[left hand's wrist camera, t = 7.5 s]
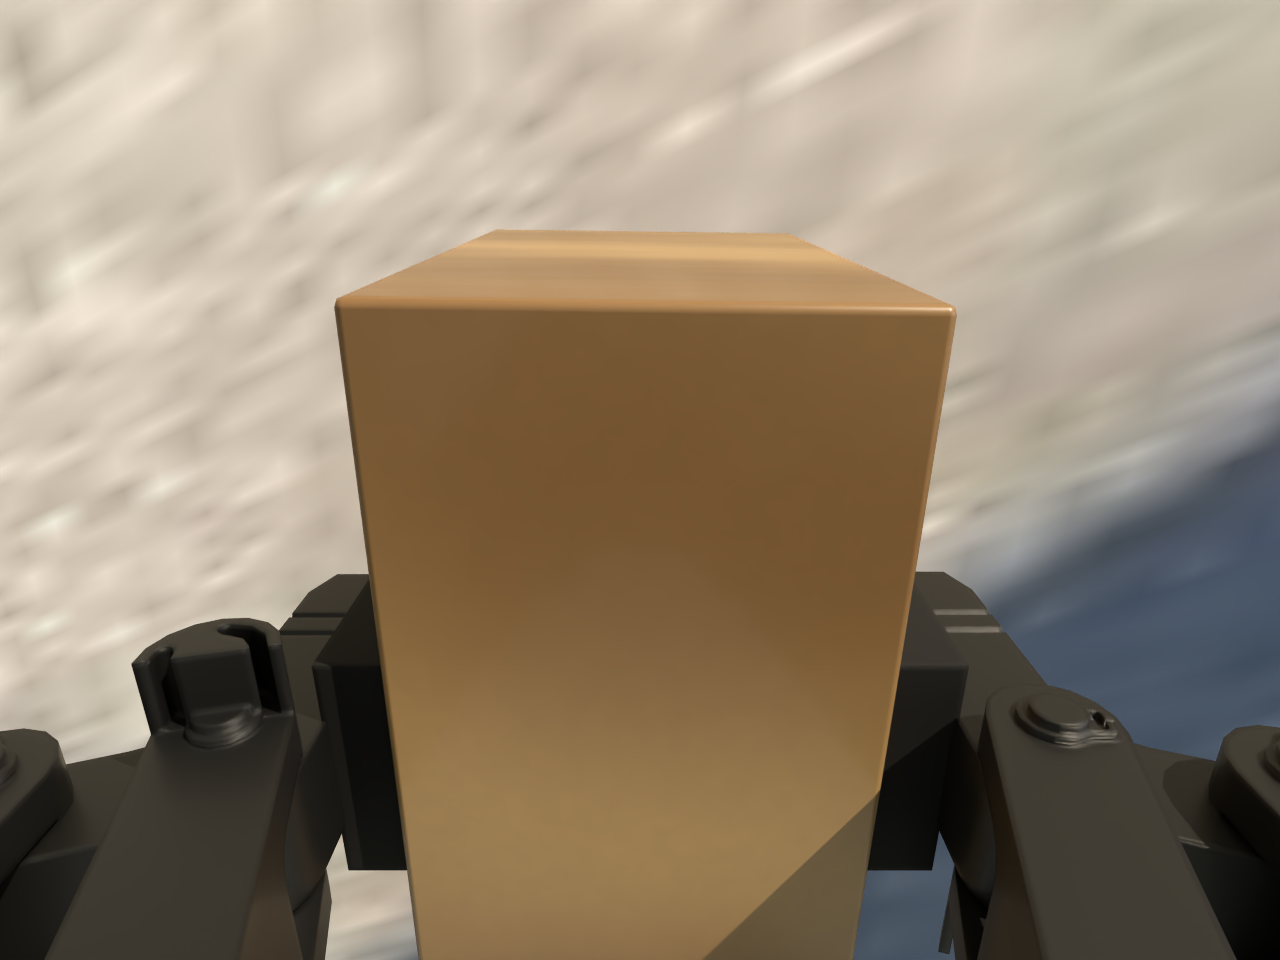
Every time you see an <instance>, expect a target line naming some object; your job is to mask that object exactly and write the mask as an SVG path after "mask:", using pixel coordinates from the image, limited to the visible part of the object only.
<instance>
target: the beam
mask: <svg viewBox="0 0 1280 960" xmlns="http://www.w3.org/2000/svg"><path fill="white" fill-rule="evenodd" d="M334 309H335V316H336V324H337V332H338V340H339V347H340V355H341V363H342V370H343V378H344V386H345V394H346V401H347V409H348V417H349V425H350V432H351V440H352V448H353V455H354V463H355V471H356V479H357V486H358V494H359V502H360V510H361V517H362V525H363V533H364V541H365V548H366V556H367V564H368V571H369V579H370V587H371V595H372V602H373V610H374V618H375V626H376V633H377V641H378V649H379V656H380V664H381V672H382V680H383V687H384V695H385V703H386V711H387V718H388V726H389V734H390V741H391V749H392V757H393V765H394V772H395V780H396V788H397V796H398V803H399V811H400V819H401V826H402V834H403V842H404V850H405V857H406V865H407V873H408V881H409V888H410V896H411V904H412V912H413V919H414V927H415V935H416V942H417V950H418V958H419V960H853V956H854V950H855V943H856V937H857V931H858V925H859V919H860V912H861V906H862V900H863V894H864V888H865V881H866V875H867V869H868V863H869V857H870V850H871V844H872V838H873V832H874V825H875V819H876V813H877V807H878V801H879V794H880V788H881V782H882V776H883V770H884V763H885V757H886V751H887V745H888V739H889V732H890V726H891V720H892V714H893V708H894V701H895V695H896V689H897V683H898V677H899V670H900V664H901V658H902V652H903V646H904V639H905V633H906V627H907V621H908V615H909V608H910V602H911V596H912V590H913V584H914V577H915V571H916V565H917V559H918V553H919V546H920V540H921V534H922V528H923V522H924V515H925V509H926V503H927V497H928V491H929V484H930V478H931V472H932V466H933V460H934V453H935V447H936V441H937V435H938V429H939V422H940V416H941V410H942V404H943V398H944V391H945V385H946V379H947V373H948V366H949V360H950V354H951V348H952V342H953V335H954V329H955V323H956V317H957V314H956V310H955V307H954V306H952V305H950V304H947V303H945V302H943V301H941V300H938V299H936V298H934V297H931V296H929V295H927V294H925V293H922V292H920V291H918V290H916V289H913V288H911V287H909V286H906V285H904V284H902V283H900V282H897V281H895V280H893V279H890V278H888V277H886V276H884V275H881V274H879V273H877V272H875V271H872V270H870V269H868V268H865V267H863V266H861V265H859V264H856V263H854V262H852V261H849V260H847V259H845V258H843V257H840V256H838V255H836V254H833V253H831V252H829V251H827V250H824V249H822V248H820V247H818V246H815V245H813V244H811V243H808V242H806V241H804V240H802V239H799V238H797V237H795V236H792V235H790V234H777V233H704V232H631V231H557V230H495V231H492V232H490V233H488V234H485V235H483V236H481V237H478V238H476V239H474V240H471V241H469V242H467V243H464V244H462V245H460V246H458V247H455V248H453V249H451V250H448V251H446V252H444V253H441V254H439V255H437V256H434V257H432V258H430V259H427V260H425V261H423V262H421V263H418V264H416V265H414V266H411V267H409V268H407V269H404V270H402V271H400V272H397V273H395V274H393V275H390V276H388V277H386V278H384V279H381V280H379V281H377V282H374V283H372V284H370V285H367V286H365V287H363V288H360V289H358V290H356V291H353V292H351V293H349V294H347V295H344V296H342V297H340V298H337V299H336V303H335V306H334Z"/></svg>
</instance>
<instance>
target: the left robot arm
mask: <svg viewBox="0 0 1280 960" xmlns="http://www.w3.org/2000/svg"><path fill="white" fill-rule="evenodd" d="M988 612H989V611H988V609H987V608H986V607H985V606H984V604H983V603H982V602H981V600H980V599H979V598H978V597H977V595H976V594H975V593H974V592H973V590H972V589H970V588H968V587H967V586H965V585H964V584H962V583H960V582H959V581H957V580H956V579H954V578H953V577H951V576H949V575H948V574H946V573H945V572H915V577H914V584H913V590H912V596H911V602H910V608H909V615H908V621H907V627H906V633H905V639H904V646H903V652H902V658H901V664H900V670H899V677H898V683H897V689H896V695H895V701H894V708H893V714H892V720H891V726H890V732H889V739H888V745H887V751H886V757H885V763H884V770H883V776H882V782H881V788H880V794H879V801H878V807H877V813H876V819H875V825H874V832H873V838H872V844H871V850H870V857H869V863H868V869H867V870H932V867H933V862H934V856H935V851H936V845H937V840H938V834H939V831H940V833H941V835H942V838H943V840H944V842H945V844H946V846H947V849H948V851H949V853H950V855H951V857H952V860H953V862H954V864H955V865H954V870H953V875H952V880H951V885H950V890H949V895H948V900H947V906H946V911H945V916H944V921H943V926H942V931H941V937H940V944H939V951H938V952H942V953H946V954H949V953H950V948H951V943H952V938H953V943H954V951H955V960H1280V728H1278V727H1270V726H1262V725H1255V726H1248V727H1241V728H1235V729H1234V730H1233V731H1232V732H1230V733H1229V734H1228V735H1227V736H1225V737H1224V739H1223V742H1222V745H1221V748H1220V751H1219V754H1218V757H1217V759H1216V761H1212V760H1207V759H1202V758H1197V757H1192V756H1187V755H1183V754H1178V753H1173V752H1168V751H1163V750H1158V749H1153V748H1149V747H1145V746H1142V745H1138V744H1134V743H1133V741H1132V739H1131V737H1130V735H1129V733H1128V732H1127V730H1126V729H1125V728H1124V727H1123V725H1122V724H1121V723H1120V721H1119V720H1118V719H1117V718H1116V717H1115V716H1114V715H1113V714H1111V713H1110V712H1108V711H1107V710H1106V709H1104V708H1103V707H1101V706H1100V705H1099V704H1097V703H1096V702H1094V701H1092V700H1090V699H1087V698H1085V697H1083V696H1081V695H1078V694H1076V693H1074V692H1072V691H1069V690H1065V689H1061V688H1057V687H1053V686H1049V685H1047V684H1046V683H1045V681H1044V680H1043V679H1042V678H1041V676H1040V675H1039V674H1038V673H1037V671H1036V670H1035V669H1034V668H1033V666H1032V665H1031V664H1030V662H1029V661H1028V660H1027V659H1026V657H1025V656H1024V655H1023V654H1022V652H1021V651H1020V650H1019V649H1018V647H1017V646H1016V645H1015V643H1014V642H1013V641H1012V640H1011V638H1010V637H1009V636H1008V635H1007V633H1003V632H1002V627H1001V626H1000V624H999V623H998V622H997V621H996V619H995V618H994V617H993V616H992V615H989V613H988ZM292 615H293V616H292V618H288V620H287V621H286V622H285V623H284V625H283V626H282V627H281V629H280V630H277V629H276V628H275V627H273V626H272V625H271V624H270V623H268V622H264V621H260V620H255V619H251V618H232V619H220V620H215V621H210V622H205V623H200V624H196V625H193V626H190V627H188V628H185V629H182V630H180V631H177V632H174V633H172V634H169V635H167V636H165V637H164V638H162V639H161V640H159V641H157V642H156V643H154V644H152V645H151V646H149V647H147V648H146V649H145V650H144V651H143V652H142V653H141V654H140V655H139V656H138V657H137V658H136V659H135V661H134V662H133V663H132V664H131V665H132V668H133V672H134V675H135V679H136V682H137V686H138V690H139V693H140V697H141V700H142V704H143V707H144V711H145V714H146V718H147V721H148V725H149V729H150V732H151V736H150V738H149V740H148V742H147V745H146V747H145V748H141V749H137V750H133V751H130V752H125V753H120V754H115V755H110V756H105V757H100V758H96V759H91V760H86V761H81V762H76V763H71V764H66V763H65V760H64V757H63V754H62V751H61V749H60V746H59V743H58V741H57V740H56V739H55V738H53V737H52V736H51V735H50V734H48V733H47V732H45V731H38V730H31V729H16V730H8V731H0V960H325V953H326V945H327V937H328V928H329V920H330V912H331V903H332V900H331V893H330V886H329V880H328V875H327V870H326V867H327V865H328V863H329V861H330V858H331V856H332V854H333V852H334V849H335V847H336V845H337V843H338V841H339V838H340V836H341V834H342V837H343V842H344V848H345V853H346V859H347V864H348V870H407V865H406V857H405V850H404V842H403V834H402V826H401V819H400V811H399V803H398V796H397V788H396V780H395V772H394V765H393V757H392V749H391V741H390V734H389V726H388V718H387V711H386V703H385V695H384V687H383V680H382V672H381V664H380V656H379V649H378V641H377V633H376V626H375V618H374V610H373V602H372V595H371V587H370V579H369V574H337V575H336V576H334V577H332V578H331V579H329V580H328V581H326V582H324V583H323V584H321V585H320V586H318V587H317V588H315V589H313V590H312V591H310V592H309V593H308V594H307V595H306V597H305V598H304V599H303V601H302V602H301V603H300V604H299V606H298V607H297V608H296V609H295V611H294V612H293V613H292Z"/></svg>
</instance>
